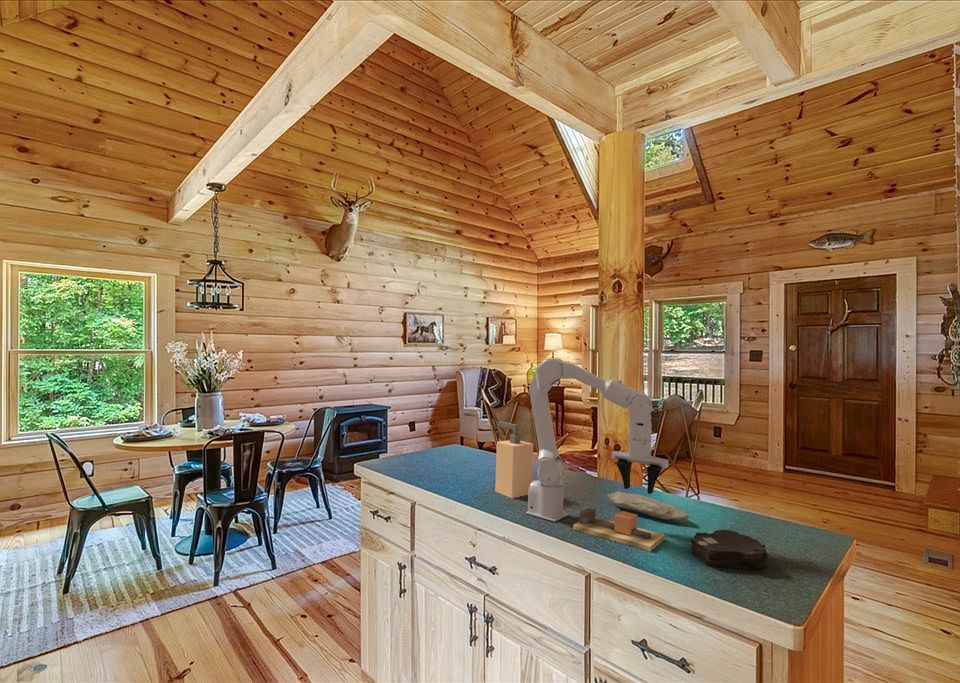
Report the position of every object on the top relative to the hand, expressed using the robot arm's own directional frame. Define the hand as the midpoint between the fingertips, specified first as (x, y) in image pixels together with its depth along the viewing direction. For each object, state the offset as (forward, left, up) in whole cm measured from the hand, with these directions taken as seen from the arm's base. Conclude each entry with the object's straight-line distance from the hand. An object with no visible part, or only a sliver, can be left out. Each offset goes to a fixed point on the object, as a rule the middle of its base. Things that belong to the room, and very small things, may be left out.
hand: (638, 490), depth 126 cm
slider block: (0, -8, -8) cm, 12 cm away
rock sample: (+23, -4, -10) cm, 26 cm away
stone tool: (-3, +14, -10) cm, 18 cm away
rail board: (-2, -8, -10) cm, 13 cm away
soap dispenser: (-44, +3, -10) cm, 45 cm away
